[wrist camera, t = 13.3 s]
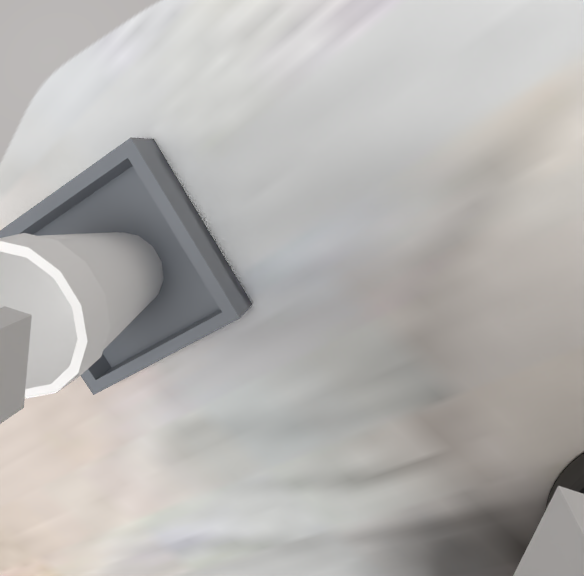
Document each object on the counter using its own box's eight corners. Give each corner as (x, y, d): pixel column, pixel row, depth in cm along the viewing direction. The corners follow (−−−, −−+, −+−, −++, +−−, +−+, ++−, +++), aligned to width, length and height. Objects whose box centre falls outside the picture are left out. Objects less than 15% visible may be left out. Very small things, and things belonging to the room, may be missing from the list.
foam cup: (129, 345, 42) (20, 425, 29) (54, 263, 41) (-89, 310, 29) (204, 278, 39) (118, 335, 27) (125, 188, 38) (0, 204, 26)
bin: (252, 304, 40) (239, 318, 36) (115, 376, 44) (93, 394, 41) (153, 139, 38) (130, 137, 34) (20, 232, 42) (-12, 238, 39)
